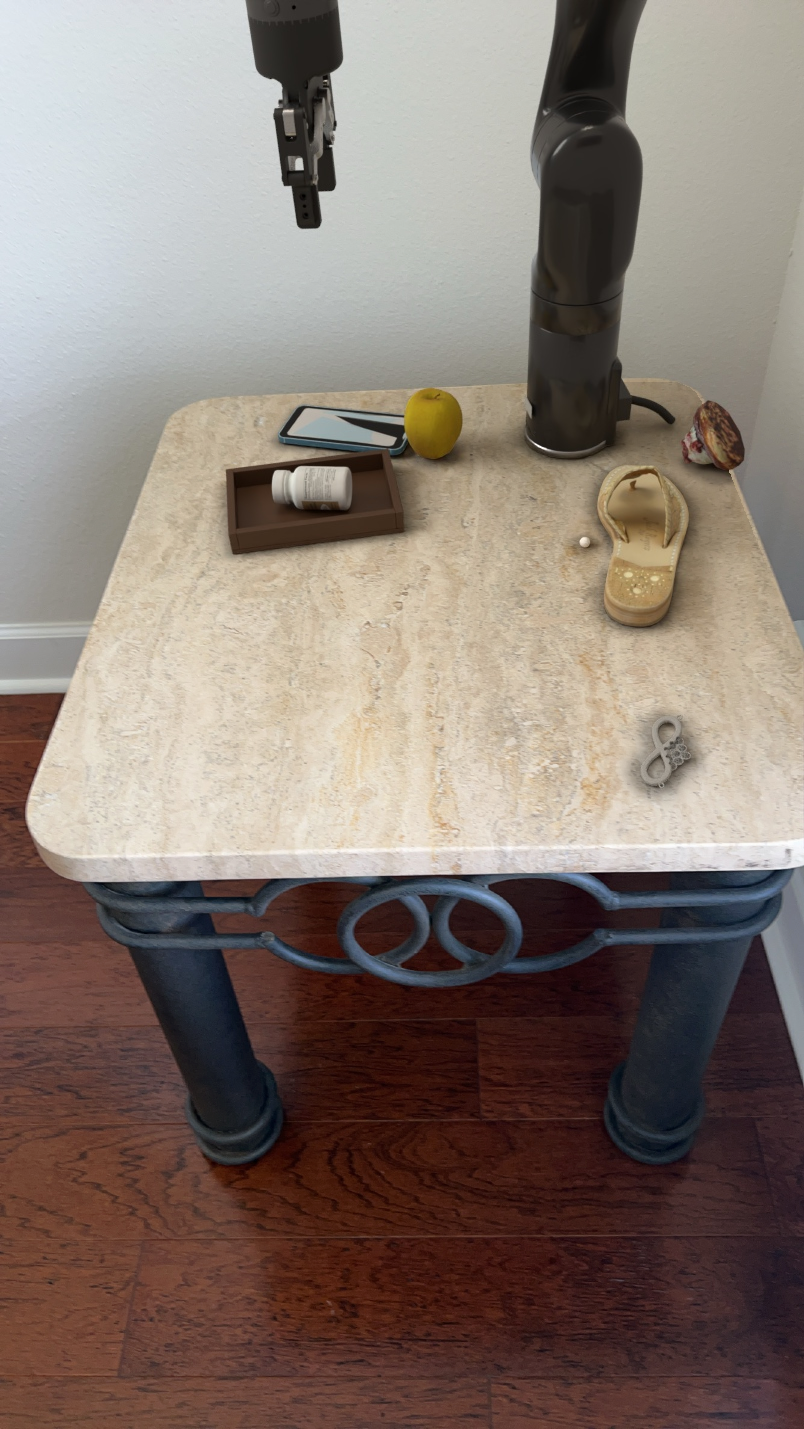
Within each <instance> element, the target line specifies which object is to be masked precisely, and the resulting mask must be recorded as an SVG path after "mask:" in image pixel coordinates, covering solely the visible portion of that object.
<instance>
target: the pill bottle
mask: <svg viewBox="0 0 804 1429" xmlns="http://www.w3.org/2000/svg"><path fill="white" fill-rule="evenodd" d="M272 494H273V499H274V502H275V503H276V504H290V503H291V502H294V504H295V506H296V507H297V508H299V509H309V510H348V509H349V508H350V505H351V499H352V475H351V471H350V469H349V468H348V467H319V466H300V467H298V468H296V470H295V471H294V473H291V472H290V471H287V470H276V471H275V472H274V475H273V480H272Z"/></svg>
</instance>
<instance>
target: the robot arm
mask: <svg viewBox="0 0 804 1429" xmlns="http://www.w3.org/2000/svg"><path fill="white" fill-rule="evenodd" d="M244 2H245V8H246V13H247V14H246V15H247V20H248V21H247V22H248V26H249V33H250V40H251V41H250V42H251V47H252V53H253V60H254V66H255V69H256V72H257V73H258V74H259V75H260V76H262V77H263V78H265V79H268V80H275V81H277V82H278V83H279V84H280V85H281V87H282V89H281V96H282V98H279V99H278V101H277V107H274V109H273V113H272V118H273V121H274V127H275V135H276V142H277V150H278V157H279V165H280V173H281V182H282V185H283V187H290V188H291V194H292V200H293V207H294V208H293V209H294V214H295V221H296V222H295V223H296V226H297V227H298V228H299V229H301V230H316V229H319V228H320V227H321V225H322V223H323V222H322V221H323V218H322V210H321V202H320V194H319V193H321V192H323V193H324V192H333V191H334V190H335V189H336V187H337V176H336V168H335V158H334V149H333V146H334V144H335V140H336V137H335V134H334V132H336V131H337V127H338V122H337V121H338V120H337V119H336V111H335V102H334V94H333V87H332V85H333V84H332V76H331V74H332V73H333V72H335V71H337V70H338V69H340V67H341V66H342V64H343V62H344V51H343V50H344V49H343V39H342V30H341V29H342V28H341V19H340V9H339V8H340V7H339V0H245V1H244ZM647 2H648V0H555V14H554V24H553V32H552V38H551V45H550V51H549V55H548V60H547V65H546V70H545V74H544V79H543V84H542V89H541V94H540V98H539V102H538V107H537V111H536V115H535V121H534V123H533V129H532V133H531V138H530V147H529V159H530V160H529V162H530V168H531V172H532V175H533V178H534V180H535V183H536V185H537V188H538V189H539V216H538V217H539V219H538V236H537V250H536V252H535V254H534V255H533V257H532V261H531V264H530V289H529V290H530V294H529V295H530V296H529V321H528V322H529V324H528V352H527V353H528V355H527V378H526V379H527V381H526V383H527V384H526V394H524V401H523V402H524V405H523V407H524V408H525V410H526V412H525V425H524V440H525V441H526V443H527V444H528V446H529V447H530V448H531V449H532V450H534V451H536V452H537V453H539V454H542V455H544V456H547V457H552V458H557V459H579V458H585V457H589V456H591V455H594V454H596V453H598V452H600V451H601V450H603V449H604V448H606V447H608V446H609V447H610V446H614V445H615V442H616V441H615V440H616V431H617V424H618V423H617V422H624V421H630V420H631V414H632V413H631V412H632V406H633V405H634V406H638V407H642V408H645V409H647V410H650V411H652V412H654V413H656V414H657V415H658V416H660V418H662V420H664V421H665V423H666V424H668V425H669V426H671V425H674V424H675V422H676V420H677V419H676V417H675V416H674V415H673V414H672V413H671V412H670V411H669V410H668V409H667V408H666V407H664V406H663V405H662V404H660V403H659V402H657V401H654V400H651V399H648V398H645V397H641V396H637V395H634V394H631V392H630V391H629V389H628V387H627V385H626V384H625V382H624V380H623V378H622V375H623V364H622V361H621V360H620V358H619V356H618V352H619V341H620V340H619V339H620V331H621V330H620V329H621V319H622V310H623V300H624V290H625V281H626V274H627V271H628V269H629V268H630V264H631V262H632V260H633V255H634V251H635V245H636V244H635V243H636V237H637V231H638V230H637V228H638V222H639V215H640V209H641V208H640V207H641V199H642V190H643V181H644V180H643V178H644V176H643V175H644V162H643V154H642V148H641V146H640V143H639V142H638V139H637V137H636V135H635V134H634V133H633V131H632V129H631V128H630V127H629V125H628V124H627V119H626V116H627V113H626V111H627V96H628V87H629V77H630V71H631V63H632V56H633V49H634V45H635V44H634V43H635V38H636V35H637V32H638V27H639V24H640V21H641V18H642V15H643V13H644V10H645V7H646V4H647ZM298 159H301V160H302V167H303V169H296V161H297V160H298Z"/></svg>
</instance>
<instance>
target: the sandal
mask: <svg viewBox="0 0 804 1429" xmlns="http://www.w3.org/2000/svg"><path fill="white" fill-rule="evenodd" d="M596 505H597V506H596V507H597V515H598V518H599V520H600V522H601V524H602V526H603V527H604V529H605V530H606V532H607V534H608V535H609V537H610V539H611V542H612V553H611V556H610V561H609V563H608V564H609V565H608V569H607V573H606V579H605V584H604V591H603V607H604V610H605V612H606V614H607V615H608V617H610V618H611V619H612V620H613V621H615V622H617V623H618V624H621V625H625V626H631V627H639V628H640V627H649V626H652V625H655V624H657V623H659V622H660V621H661V620H662V619H663V618H664V617H665V616H666V614H667V613H668V612H669V608H670V606H671V602H672V599H673V598H672V596H673V592H674V584H675V579H676V578H675V576H676V569H677V566H678V563H679V560H680V555H681V551H682V547H683V544H684V541H685V538H686V534H687V532H688V527H689V523H690V522H689V521H690V520H689V519H690V514H689V507H688V503H687V501H686V500H685V498H684V495H683V494H682V493H681V491H680V490H679V489H678V487H677V486H676V484H674V483H673V482H672V481H671V480H670V479H669V478H667V477H666V476H665V475H664V474H663V473H662V471H660V469H659V468H658V467H657V466H655V465H637V464H624V465H620V466H617V467H615V468H613V469H612V470H611V471H609V473H608V474H607V475H606V476H605V478H604V479H603V481H602V483H601V485H600V489H599V492H598V497H597V504H596Z"/></svg>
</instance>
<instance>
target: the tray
mask: <svg viewBox="0 0 804 1429" xmlns="http://www.w3.org/2000/svg"><path fill="white" fill-rule="evenodd" d="M300 466H319V467H348V468H349V469H350V471H351V475H352V499H351V505H350V508H349V509H348V510H309V509H299V508H297V507H296V506H295V504H294V502H291V503H290V504H276V503H275V502H274V499H273V494H272V480H273V475H274V472H275V471H276V470H287V471H290V472H291V473H294V471H295V470H296V468H298V467H300ZM225 484H226V486H225V488H226V512H227V535H228V540H229V544H230V548H231V554H232V555H237V554H245V553H252V552H253V553H254V552H260V551H268V550H275V549H282V548H290V547H296V546H297V547H298V546H305V545H312V544H313V545H314V544H320V543H328V542H335V541H343V540H350V539H351V540H353V539H357V538H366V537H374V536H382V535H389V534H397V533H404V532H405V517H404V509H403V506H402V501H401V500H402V499H401V497H400V492H399V487H398V484H397V478H396V474H395V470H394V466H393V462H392V458H391V455H390V453H389V449H382V450H373V451H365V452H361V451H356V452H349V453H342V454H335V455H327V456H319V457H310V458H303V459H294V460H287V461H279V462H271V463H265V464H264V463H263V464H256V465H248V466H241V467H232V468H226V469H225Z"/></svg>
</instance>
